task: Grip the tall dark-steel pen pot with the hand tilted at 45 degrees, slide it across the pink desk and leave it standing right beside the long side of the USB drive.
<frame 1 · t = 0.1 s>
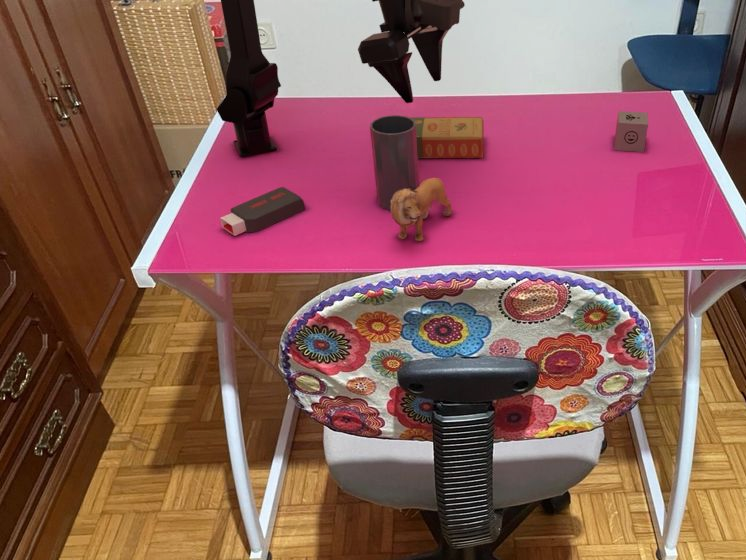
hand: (424, 91, 108), 15 cm above the table, tool pointing down, fingers open, 9 cm apart
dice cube: (628, 145, 128), on the table
lion figurine: (423, 231, 108), on the table
pen pot: (398, 200, 114), on the table
usb drive: (263, 219, 111), on the table
carton: (437, 149, 128), on the table
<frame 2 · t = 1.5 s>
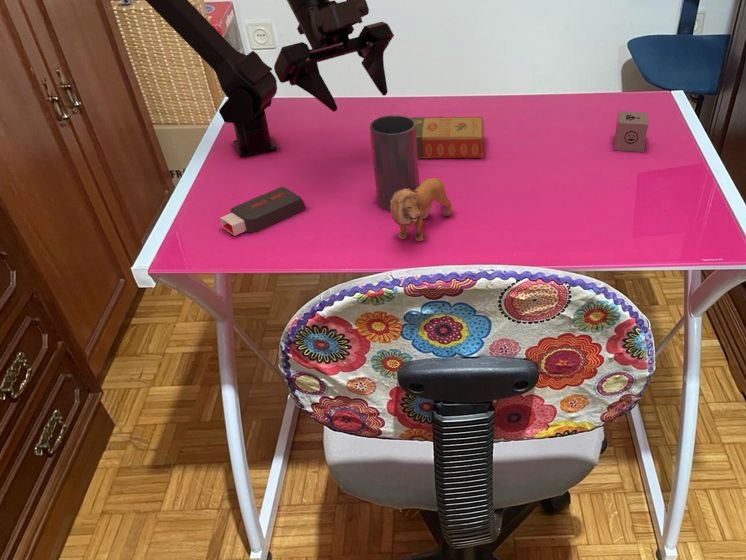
hand: (361, 102, 110), 13 cm above the table, tool tilted 45°, fingers open, 9 cm apart
nothing on the table moved.
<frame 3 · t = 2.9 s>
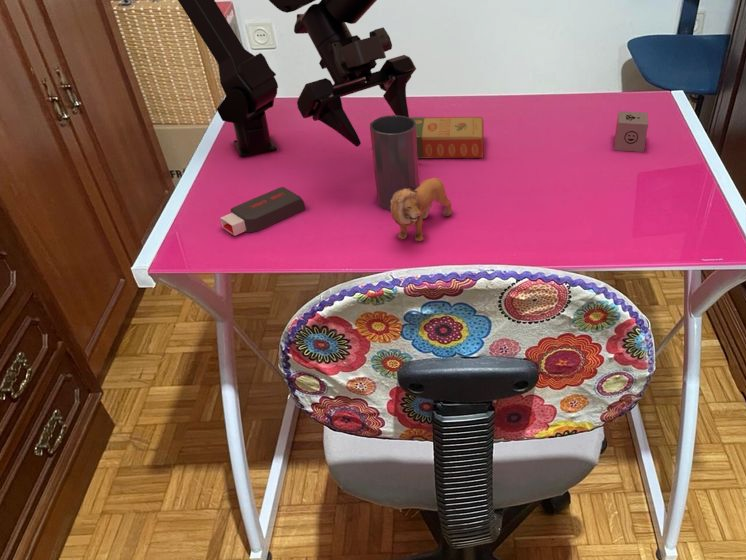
hand: (384, 136, 109), 10 cm above the table, tool tilted 45°, fingers open, 9 cm apart
nothing on the table moved.
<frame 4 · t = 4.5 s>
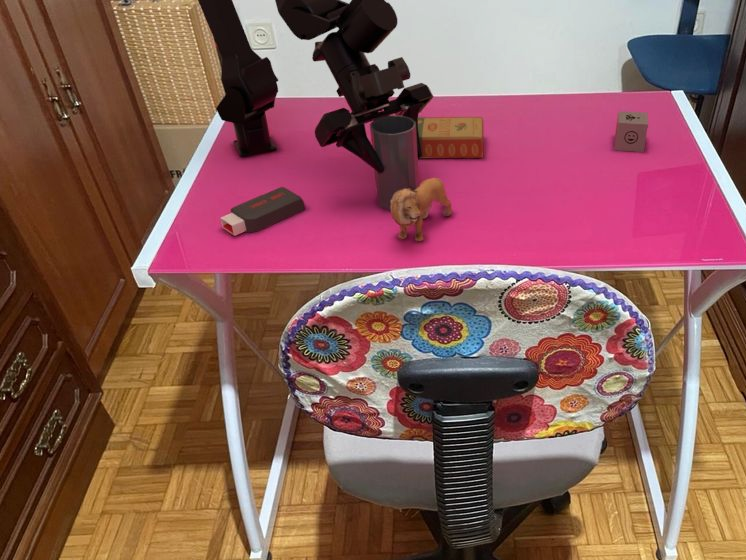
hand: (401, 164, 109), 7 cm above the table, tool tilted 45°, fingers closed on pen pot, 7 cm apart
pen pot: (398, 200, 114), on the table, touching gripper
everything else where it was.
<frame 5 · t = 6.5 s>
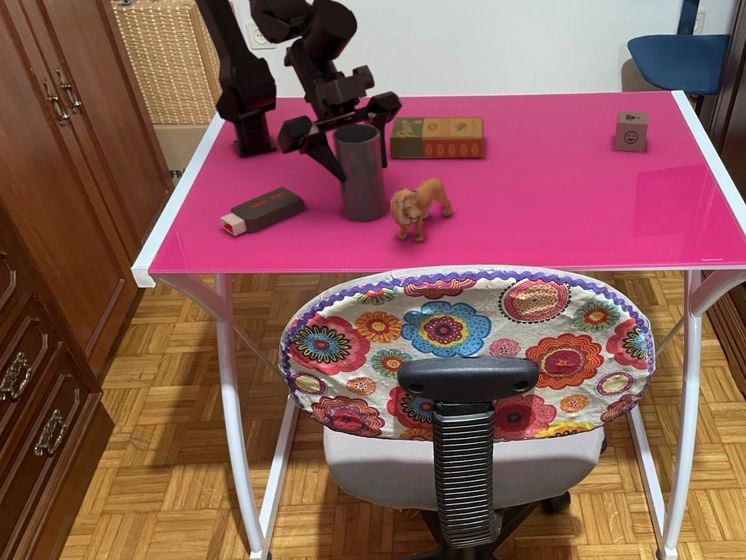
hand: (365, 174, 107), 7 cm above the table, tool tilted 45°, fingers closed on pen pot, 7 cm apart
pen pot: (365, 209, 112), on the table, touching gripper
everything else where it was.
when the fingers open (7 cm above the table, at t = 8.6 s): pen pot stays where it is, on the table.
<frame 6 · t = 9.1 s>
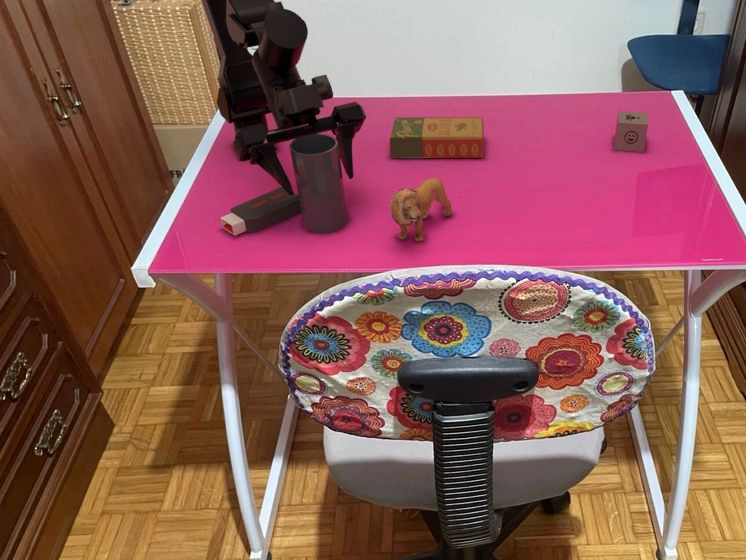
hand: (322, 186, 104), 7 cm above the table, tool tilted 45°, fingers open, 9 cm apart
pen pot: (325, 221, 110), on the table
everything else where it was.
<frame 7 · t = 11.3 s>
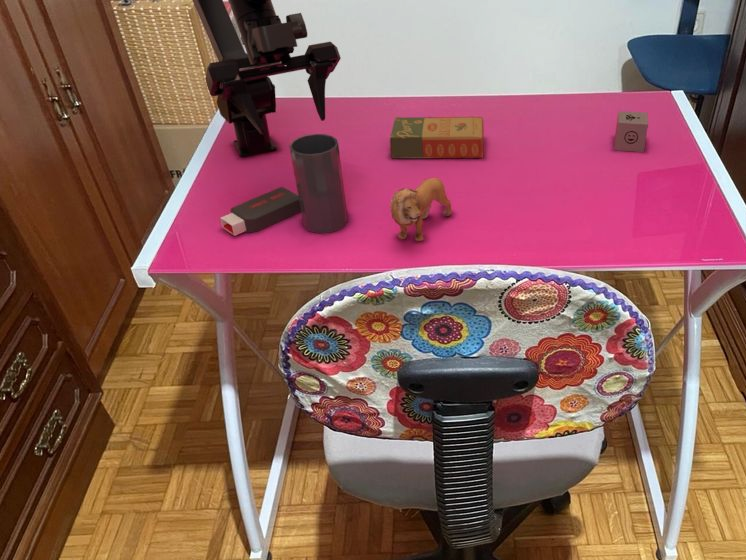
hand: (293, 126, 105), 13 cm above the table, tool tilted 40°, fingers open, 9 cm apart
nothing on the table moved.
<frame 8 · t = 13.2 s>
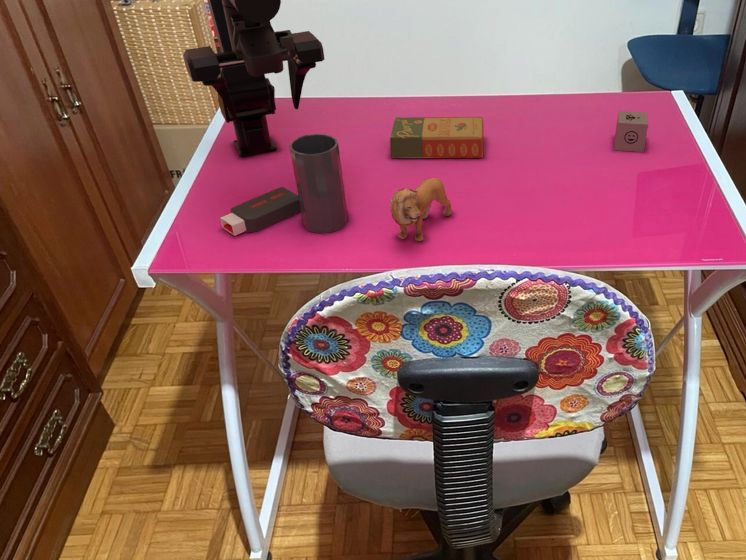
hand: (266, 114, 108), 13 cm above the table, tool pointing down, fingers open, 9 cm apart
nothing on the table moved.
at the end: pen pot inside the target area on the table beside the usb drive (1.7 cm from its centre), on the table; pen pot tilted 0°; the gripper is holding nothing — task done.
